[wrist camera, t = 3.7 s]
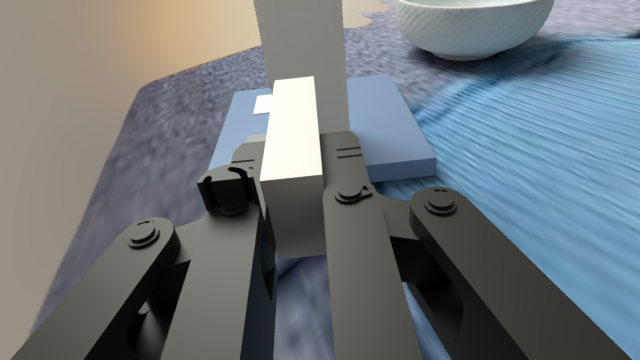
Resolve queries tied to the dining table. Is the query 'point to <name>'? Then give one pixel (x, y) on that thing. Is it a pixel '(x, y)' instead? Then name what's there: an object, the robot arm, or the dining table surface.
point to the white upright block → (308, 52)
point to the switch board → (365, 122)
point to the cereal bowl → (470, 25)
